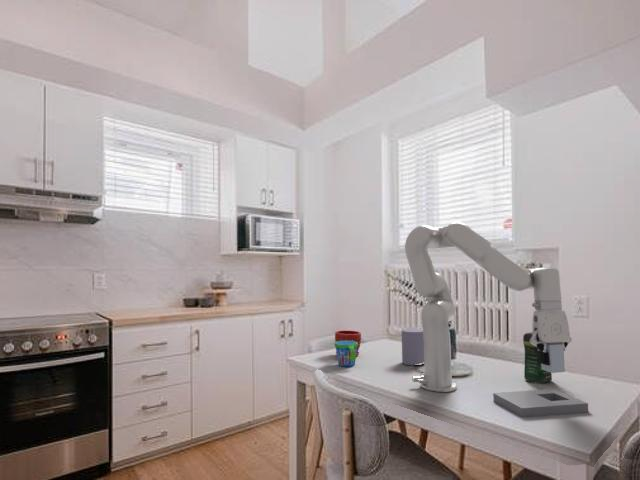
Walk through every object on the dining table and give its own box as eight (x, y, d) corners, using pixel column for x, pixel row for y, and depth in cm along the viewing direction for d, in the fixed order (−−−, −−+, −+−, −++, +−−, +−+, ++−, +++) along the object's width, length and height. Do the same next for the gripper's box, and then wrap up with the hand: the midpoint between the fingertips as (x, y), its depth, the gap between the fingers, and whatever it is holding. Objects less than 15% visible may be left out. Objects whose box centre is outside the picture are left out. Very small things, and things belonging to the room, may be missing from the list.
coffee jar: (541, 385, 141) (539, 334, 143) (521, 380, 148) (518, 331, 149) (556, 381, 146) (553, 332, 148) (535, 376, 153) (533, 329, 154)
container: (429, 365, 172) (428, 331, 173) (407, 366, 170) (406, 332, 171) (419, 360, 182) (418, 328, 183) (399, 361, 180) (398, 329, 181)
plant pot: (353, 360, 184) (353, 334, 185) (330, 356, 191) (330, 332, 192) (365, 354, 195) (365, 330, 195) (343, 352, 202) (343, 328, 203)
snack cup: (331, 361, 181) (330, 340, 181) (352, 360, 183) (352, 338, 184) (339, 370, 165) (339, 346, 166) (363, 368, 168) (362, 345, 168)
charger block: (552, 373, 119) (549, 343, 120) (541, 369, 124) (539, 340, 125) (565, 372, 120) (562, 342, 121) (554, 368, 124) (551, 340, 125)
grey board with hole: (522, 417, 112) (521, 408, 112) (493, 400, 126) (493, 393, 126) (588, 411, 115) (587, 403, 116) (553, 396, 129) (552, 389, 129)
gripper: (532, 308, 119) (537, 368, 117) (580, 305, 121) (585, 364, 120) (516, 306, 126) (520, 362, 124) (562, 304, 129) (566, 359, 127)
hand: (552, 363), depth 122 cm, fingers closed on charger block, 4 cm apart
